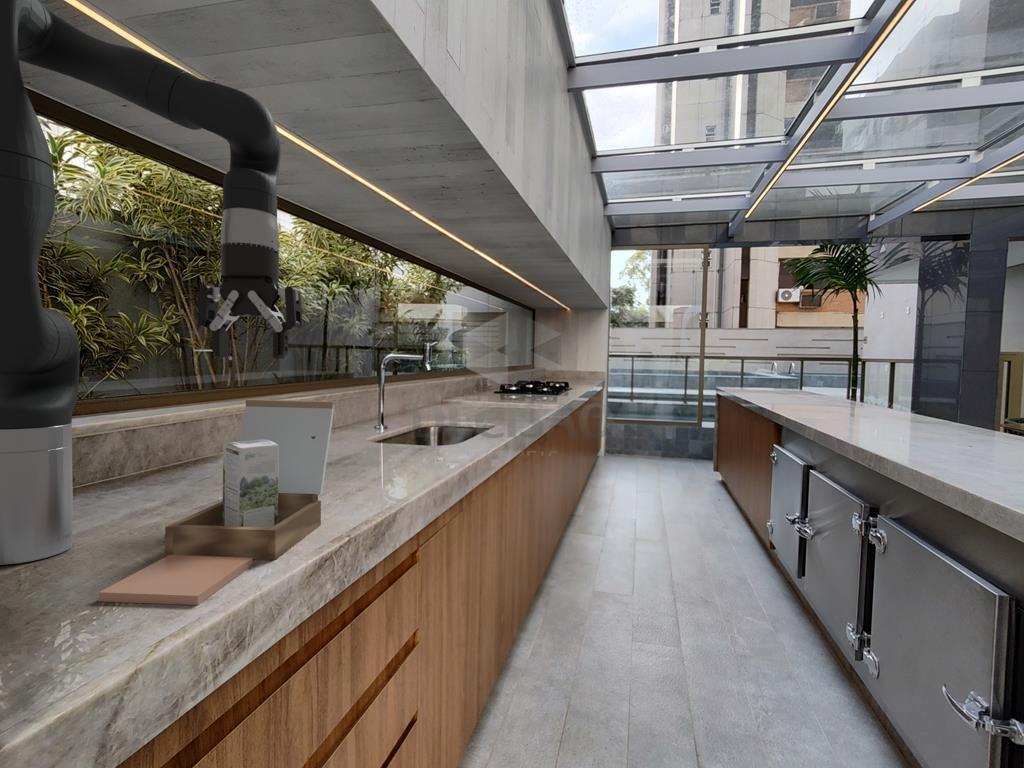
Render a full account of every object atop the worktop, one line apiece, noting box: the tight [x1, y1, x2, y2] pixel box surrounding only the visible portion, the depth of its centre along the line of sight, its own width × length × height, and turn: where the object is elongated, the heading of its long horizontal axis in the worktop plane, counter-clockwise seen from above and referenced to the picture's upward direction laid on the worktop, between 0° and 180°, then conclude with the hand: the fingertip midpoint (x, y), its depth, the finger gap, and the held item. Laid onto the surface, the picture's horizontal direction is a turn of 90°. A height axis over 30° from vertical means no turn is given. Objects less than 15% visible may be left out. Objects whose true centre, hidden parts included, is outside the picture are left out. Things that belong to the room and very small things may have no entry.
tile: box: [98, 555, 254, 606], centre depth 61 cm, size 11×11×1 cm
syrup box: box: [222, 440, 279, 528], centre depth 76 cm, size 6×6×14 cm
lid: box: [238, 399, 336, 496], centre depth 86 cm, size 15×6×15 cm, turn 88°
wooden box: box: [164, 436, 322, 561], centre depth 78 cm, size 15×19×14 cm
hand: (250, 358), depth 75 cm, fingers open, 8 cm apart
